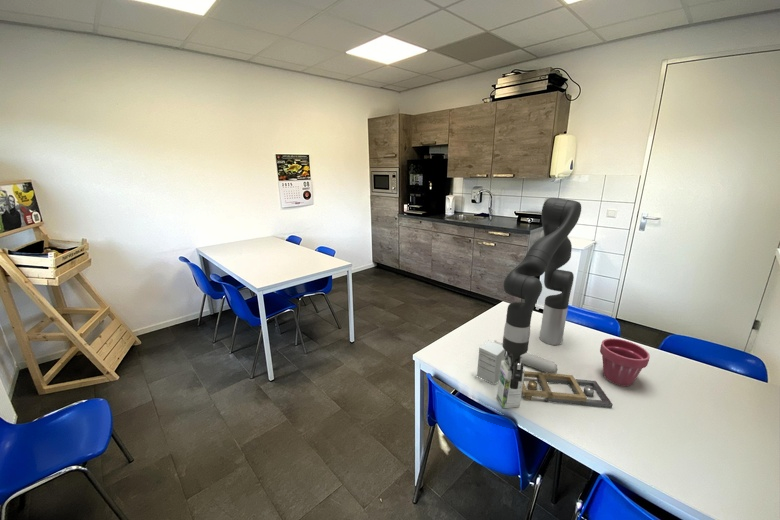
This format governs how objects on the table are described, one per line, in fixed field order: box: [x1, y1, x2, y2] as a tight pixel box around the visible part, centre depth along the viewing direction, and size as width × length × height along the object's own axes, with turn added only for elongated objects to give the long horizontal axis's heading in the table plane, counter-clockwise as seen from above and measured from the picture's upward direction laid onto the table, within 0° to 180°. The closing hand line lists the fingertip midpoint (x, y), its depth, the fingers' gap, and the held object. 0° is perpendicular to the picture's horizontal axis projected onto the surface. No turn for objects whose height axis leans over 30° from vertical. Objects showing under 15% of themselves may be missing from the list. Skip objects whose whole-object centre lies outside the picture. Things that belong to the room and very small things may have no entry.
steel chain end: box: [536, 378, 613, 409], centre depth 111 cm, size 12×20×2 cm, turn 81°
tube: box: [493, 340, 558, 374], centre depth 128 cm, size 5×5×25 cm
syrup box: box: [496, 360, 526, 409], centre depth 105 cm, size 6×6×14 cm
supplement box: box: [476, 339, 505, 386], centre depth 118 cm, size 7×7×13 cm
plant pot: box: [599, 338, 651, 387], centre depth 117 cm, size 14×14×13 cm
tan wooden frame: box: [521, 370, 588, 402], centre depth 112 cm, size 12×20×3 cm, turn 81°
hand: (510, 379), depth 104 cm, fingers open, 8 cm apart
